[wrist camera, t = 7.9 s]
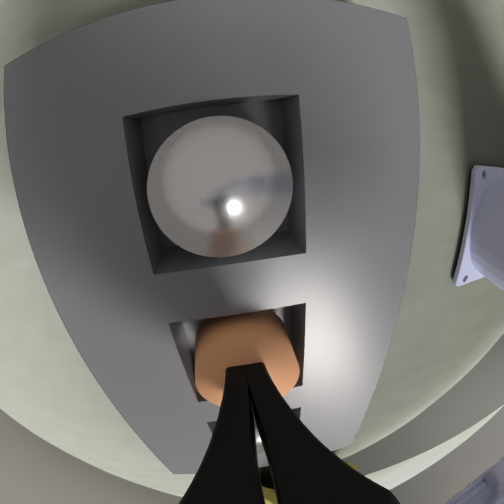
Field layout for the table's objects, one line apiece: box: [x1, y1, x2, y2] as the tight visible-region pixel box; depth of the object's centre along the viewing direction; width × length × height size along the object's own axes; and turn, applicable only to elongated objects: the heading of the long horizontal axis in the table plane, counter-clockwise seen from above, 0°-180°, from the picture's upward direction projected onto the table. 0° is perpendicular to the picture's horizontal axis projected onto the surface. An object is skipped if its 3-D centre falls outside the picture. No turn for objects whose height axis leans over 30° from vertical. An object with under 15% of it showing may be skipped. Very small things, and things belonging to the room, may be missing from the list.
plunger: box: [147, 116, 293, 257], centre depth 8 cm, size 4×4×2 cm
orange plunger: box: [195, 309, 300, 406], centre depth 11 cm, size 4×4×2 cm
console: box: [4, 0, 420, 474], centre depth 12 cm, size 14×26×3 cm, turn 5°
